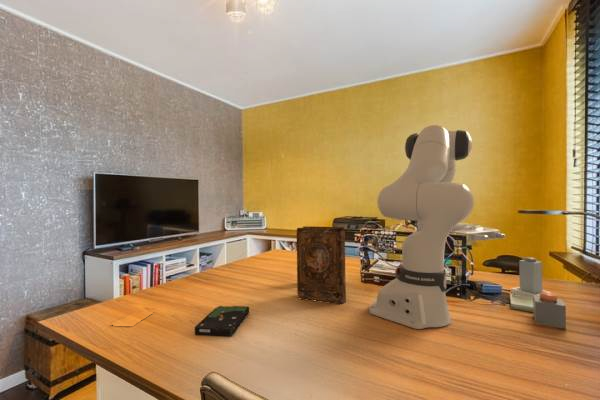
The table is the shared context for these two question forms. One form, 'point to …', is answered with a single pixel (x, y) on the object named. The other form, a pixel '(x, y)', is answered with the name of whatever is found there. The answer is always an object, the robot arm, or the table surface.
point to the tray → (521, 302)
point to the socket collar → (522, 293)
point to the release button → (548, 297)
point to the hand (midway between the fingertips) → (495, 237)
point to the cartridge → (530, 275)
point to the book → (321, 264)
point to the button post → (549, 312)
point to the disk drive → (222, 321)
